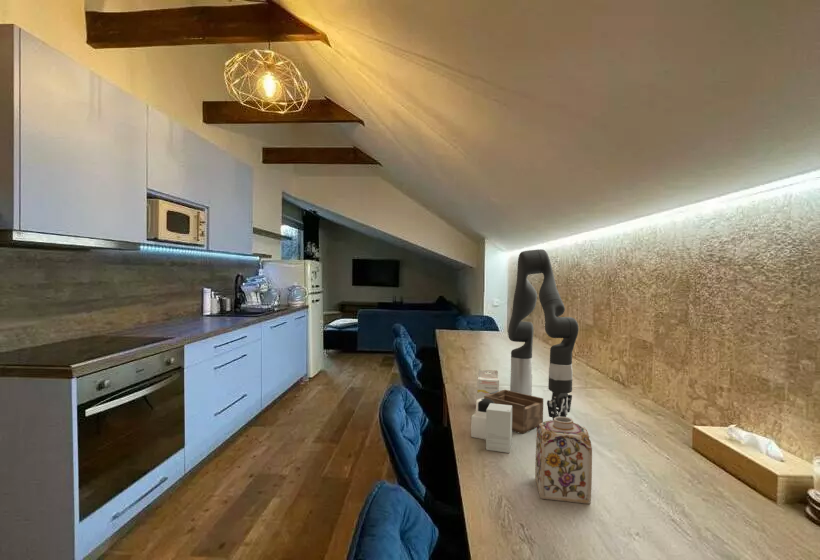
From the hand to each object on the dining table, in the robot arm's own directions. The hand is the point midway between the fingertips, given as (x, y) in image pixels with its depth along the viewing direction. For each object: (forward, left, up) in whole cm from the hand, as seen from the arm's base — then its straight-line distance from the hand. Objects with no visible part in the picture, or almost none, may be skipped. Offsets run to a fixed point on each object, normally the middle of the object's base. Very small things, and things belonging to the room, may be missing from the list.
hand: (559, 427), depth 146 cm
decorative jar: (+35, +18, -3) cm, 39 cm away
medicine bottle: (+18, -17, -3) cm, 25 cm away
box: (0, -17, -3) cm, 18 cm away
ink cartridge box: (-10, -35, -3) cm, 37 cm away
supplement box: (+23, -8, -3) cm, 25 cm away
